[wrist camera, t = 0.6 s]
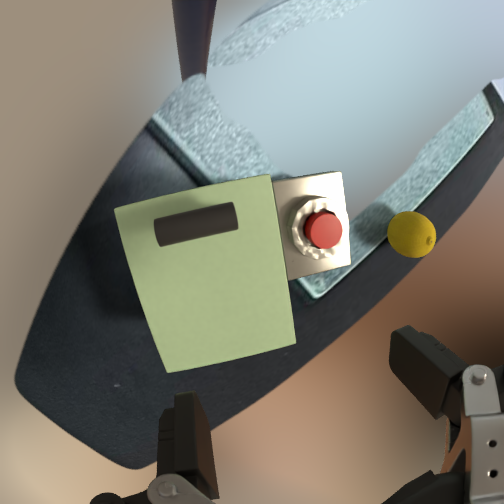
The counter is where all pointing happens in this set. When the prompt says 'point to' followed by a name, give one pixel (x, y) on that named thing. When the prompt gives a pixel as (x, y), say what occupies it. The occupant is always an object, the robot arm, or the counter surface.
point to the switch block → (297, 213)
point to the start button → (323, 230)
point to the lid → (210, 271)
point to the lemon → (411, 234)
